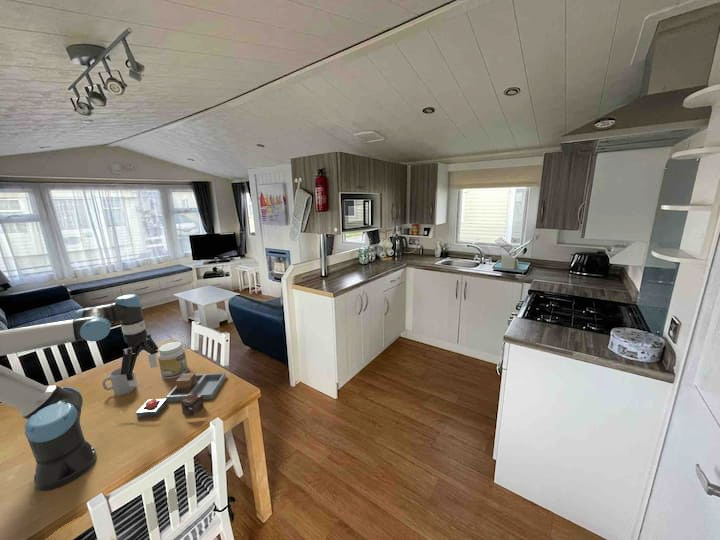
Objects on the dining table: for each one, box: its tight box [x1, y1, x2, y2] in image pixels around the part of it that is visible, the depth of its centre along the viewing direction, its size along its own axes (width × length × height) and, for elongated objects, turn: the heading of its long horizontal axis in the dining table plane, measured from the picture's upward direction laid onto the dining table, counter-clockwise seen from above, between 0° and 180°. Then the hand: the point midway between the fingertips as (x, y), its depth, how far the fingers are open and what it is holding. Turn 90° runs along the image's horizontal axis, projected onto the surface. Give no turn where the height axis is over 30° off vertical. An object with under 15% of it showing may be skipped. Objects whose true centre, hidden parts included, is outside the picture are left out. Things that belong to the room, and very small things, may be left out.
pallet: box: [165, 372, 227, 403], centre depth 138 cm, size 17×21×4 cm
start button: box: [145, 398, 158, 409], centre depth 123 cm, size 4×4×4 cm
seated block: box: [175, 372, 197, 394], centre depth 137 cm, size 6×6×7 cm
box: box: [180, 393, 205, 417], centre depth 124 cm, size 6×6×7 cm
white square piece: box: [135, 398, 168, 419], centre depth 124 cm, size 8×8×4 cm
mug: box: [101, 367, 137, 397], centre depth 137 cm, size 12×8×11 cm
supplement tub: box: [157, 341, 189, 380], centre depth 151 cm, size 12×12×17 cm
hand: (144, 375), depth 120 cm, fingers open, 13 cm apart
